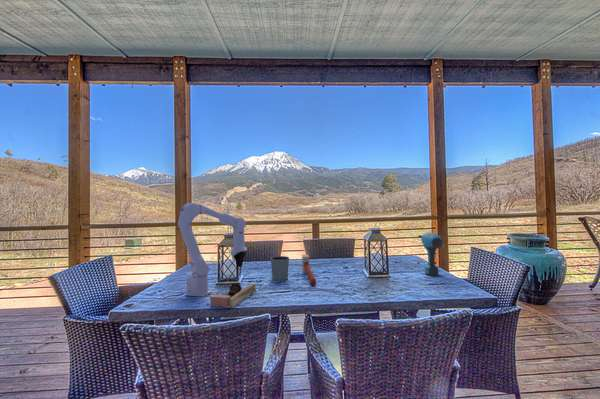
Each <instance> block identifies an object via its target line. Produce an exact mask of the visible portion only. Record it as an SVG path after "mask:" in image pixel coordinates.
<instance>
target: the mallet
mask: <svg viewBox="0 0 600 399" xmlns="http://www.w3.org/2000/svg"><path fill="white" fill-rule="evenodd" d="M301 256H302V258H301V269H302V270H301V272H302V273H303V274H306V275H307V278H308V281H309V283H310V285H311V286H316V285H317V282H316V281H317V280H316V278H315V276H314V273H313V272H312V271H313V270H312V269H311V267H310V255H309V254H302V255H301Z"/></svg>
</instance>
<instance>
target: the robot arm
mask: <svg viewBox="0 0 600 399" xmlns="http://www.w3.org/2000/svg"><path fill="white" fill-rule="evenodd" d="M179 212H180V213H179V217H178V221H177V224H178V228H179V230H180V233H181V236H182V238H183V241H184V243H185V247H186V249H187V253H188V255H189V256H188V257H189V261H190V270H191V272H192V274H190V275H189V276H187V278H186V294H185V296H190V297H191V296H192V297H200V298H201V297H205V296H207V295H208V294H210V293H212V291H213V290H211V289H210V290H209V276H208V275H209V272H210V267H209V264H208V263H206V261H205V259H204V258H203V256H202V254H201V251H200V248H199V245H198V243H197V239H196V236H195V234H194V231H193V229H192V226H191V224H192V223H193V221H194V219H196V218H197V217H198V216H199V215H207V216H210V217H212V218H216V219H218V221H219V223H221V224H224V225H227V226H229V227H231V228H232V236H233V238H232V242H233V247H232V248H233V249H232V250H231V251H230V256H233V258H234V260H235V263H236V264H235V265H236V267H237V268H242V267H243V263H244V258H245V257H246V254H247V253H246V252H245V251H248V247H247V246H245V244H246V243H245V227H246V226H247V222H246V220H245V219H244V218H243V217H238V215H236V214H234V215H233V214H231V213H230V212H229V211H223V212H220V211H218V210H215V209H213V208H211V207H208V206H206V205H203V204H199V203H197V202H187V203H184V204H183V205H182V207H181V208H180V211H179Z"/></svg>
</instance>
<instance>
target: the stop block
mask: <svg viewBox="0 0 600 399" xmlns="http://www.w3.org/2000/svg"><path fill="white" fill-rule="evenodd" d="M230 298H231V296H229V295H227V294H226V295H225V294H215V293H214V294H212V295H211V296H210V307H216V306H222V307H221V308H229V307H228V306H229V303H228V299H230Z"/></svg>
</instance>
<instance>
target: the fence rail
mask: <svg viewBox="0 0 600 399" xmlns="http://www.w3.org/2000/svg"><path fill="white" fill-rule="evenodd" d="M254 292H256V283H250V284H249V285H247V286H246V287H244V288H242V289H241V291H240V292H238V293H237V294H235V295H234V296H232V297H231V298H230V299H228V303H229V307H228V308H229V309H233V308H235V307H236V306H238V305H239V304H240V303H241V302H243V301H244V300H246V298H248V297H250V295H252V294H253V293H254Z"/></svg>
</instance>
